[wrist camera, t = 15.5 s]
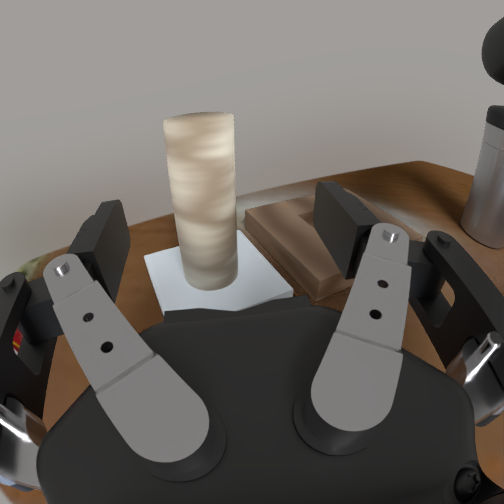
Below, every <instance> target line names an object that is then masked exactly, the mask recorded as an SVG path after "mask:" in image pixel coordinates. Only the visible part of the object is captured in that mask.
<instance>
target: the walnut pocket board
mask: <svg viewBox="0 0 504 504" xmlns="http://www.w3.org/2000/svg"><path fill="white" fill-rule="evenodd" d="M344 190H345V191H346V192H348V193H350V194H352V195H354V196H356V197H357V198H358V199H359V200H360V201H361V202H362V203H363V205H365V206H366V207H367V208H368V210H370V211H371V212H372V213H373V214H374V215H375V216H376V217H377V219H378V220H379V221H380V222H381V223H389V224H393V225H396V226H398V227H400V228H401V229H403V230H404V231H405V232H406V233H407V234H408V236H409V240H413V241H421V240H422V237H423V236H422V235H420V234H419V233H417V232H416V231H414V230H413V229H411V228H410V227H408V226H407V225H405V224H404V223H402V222H401V221H399V220H397V219H396V218H394V217H393V216H391V215H390V214H388V213H386V212H385V211H383V210H382V209H380V208H378V207H377V206H375V205H373V204H372V203H370V202H368V201H367V200H365V199H363V198H362V197H360V196H358V195H357V194H355V193H353V192H351V191H350V190H348V189H346V188H345V189H344ZM314 202H315V195H310V196H305V197H301V198H296V199H291V200H287V201H282V202H277V203H273V204H268V205H264V206H260V207H255V208H251V209H247V210H245V228H246V229H247V230H248V231H249V233H250V234H251V235H252V236H253V237H254V238H255V239H256V240H257V241H258V242H259V243H260V244H261V245H262V246H263V247H264V248H265V249H266V250H267V251H268V252H269V253H270V255H271V256H272V257H273V258H274V259H275V260H276V261H277V262H278V263H279V264H280V265H281V266H282V267H283V268H284V269H285V270H286V271H287V272H288V273H289V275H290V276H291V277H292V278H293V279H294V280H295V281H296V282H297V283H298V284H299V285H300V286H301V287H302V288H303V289H304V290H305V291H306V293H307V294H308V295H309V296H310V297H311V298H312V299H313V300H314V301H315V302H317V301H319V300H322V299H324V298H326V297H328V296H331V295H333V294H335V293H337V292H340V291H342V290H344V289H346V288H348V287H350V286H352V285H353V283H354V280H355V279H349V280H345V279H344V277H343V275H342V274H341V272H340V270H339V268H338V267H337V265H336V263H335V262H334V260H333V258H332V256H331V255H330V253H329V251H328V250H327V248H326V246H325V245H324V243H323V241H322V240H321V238H320V236H319V235H318V233H317V232H316V230H315V229H314V228H315V227H314V223H313V211H314Z"/></svg>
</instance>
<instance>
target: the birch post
mask: <svg viewBox="0 0 504 504" xmlns="http://www.w3.org/2000/svg"><path fill="white" fill-rule="evenodd" d="M163 125H164V135H165V145H166V154H167V163H168V171H169V180H170V187H171V194H172V202H173V209H174V216H175V222H176V229H177V235H178V241H179V247H180V253H181V259H182V264H183V270H184V275H185V279H186V281H187V283H188V284H189V285H191V286H192V287H194V288H196V289H199V290H204V291H213V290H219V289H222V288H225V287H227V286H229V285H230V284H232V283H233V282H234V281H235V279H236V278H237V276H238V253H237V223H236V191H235V155H234V153H235V150H234V115H233V114H230V113H224V112H200V113H191V114H185V115H179V116H175V117H171V118H168V119H166V120H164V121H163Z"/></svg>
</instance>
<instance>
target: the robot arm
mask: <svg viewBox="0 0 504 504" xmlns="http://www.w3.org/2000/svg"><path fill="white" fill-rule="evenodd" d="M482 61H483V65H484V68H485V70H486V71H487V73H488V74H489V76H490V77H492V78H493V79H494V80H495V81H497V82H499V83H501V84H503V85H504V17H503V18H502V19H501V20H499V21H498V22H497V23H495V24H494V25H493V26H492V27H491V28H490V29H489V31H488V33H487V34H486V37H485V39H484V42H483V46H482ZM486 121H487V122H486V124H485V130H484V136H483V142H482V146H481V151H480V155H479V159H478V164H477V168H476V171H475V175H474V179H473V183H472V186H471V190H470V193H469V196H468V200H467V202H466V206H465V209H464V212H463V215H462V218H461V221H460V224H461V226H462V228H463V229H464V230H465V232H466V233H468V234H469V235H470V236H471V237H472V238H474V239H475V240H477V241H478V242H480V243H482V244H484V245H486V246H488V247H491V248H496V249H501V248H503V247H504V106H496V105H494V106H490V107H489V108H488V112H487V117H486ZM313 223H314V227H315V230H316V232H317V233H318V235H319V236H320V238H321V240H322V241H323V243H324V245H325V246H326V248H327V250H328V251H329V253H330V255H331V256H332V258H333V260H334V262H335V263H336V265H337V267H338V268H339V270H340V272H341V274H342V275H343V277H344V279H345V280H349V279H355V280H354V283H353V286H352V289H351V291H350V294H349V297H348V300H347V302H346V305H345V308H344V310H343V313H342V312H340V311H338V310H335V309H332V308H328V307H324V306H318V305H311V303H310V300H309V298H308V295H303V296H296V297H288V298H281V299H273V300H270V301H267V302H264V303H262V304H259V305H256V306H253V307H250V308H246V309H243V310H240V311H228V310H217V309H206V308H193V309H182V310H171V311H164V322H162V323H159V324H156V325H154V326H151V327H149V328H148V329H146V330H144V331H142V332H141V333H139V334H138V333H137V332H136V331H135V330H134V329H133V327H132V326H131V325H130V324H129V322H128V321H127V320H126V319H125V317H124V316H123V315H122V313H121V312H120V311H119V309H118V308H117V307H116V306H115V301H116V297H117V293H118V289H119V285H120V281H121V277H122V273H123V270H124V266H125V262H126V259H127V255H128V252H129V248H130V234H129V230H128V226H127V222H126V218H125V215H124V210H123V207H122V203H121V201H120V200H112V201H106V202H102V203H101V204H100V206H99V208H98V210H97V211H96V213H95V215H92V216H91V217H89V218H88V219H87V220H86V221H85V222H84V223H83V225H82V226H81V228H80V230H79V232H78V234H77V235H76V238H75V239H74V240H73V242H72V244H71V246H70V248H69V250H68V252H67V254H64V255H61V256H59V257H57V258H55V259H53V260H52V261H51V262H50V263H49V264H48V265H47V266H46V267H45V269H44V272H43V276H44V277H41V278H39V279H36V280H33V281H31V282H27V280H26V278H25V276H24V274H23V273H21V272H15V273H12V274H10V275H8V276H6V277H5V278H4V279H2V280H1V281H0V483H1V484H4V485H7V486H11V487H13V488H16V489H18V490H21V491H24V492H29V491H32V490H33V489H37V490H40V491H43V494H44V496H45V498H46V501H47V503H48V504H504V489H502V488H501V487H499V486H498V485H496V484H495V483H494V482H492V481H491V480H490V479H489V478H488V477H487V476H486V475H485V474H484V473H483V471H482V469H481V467H480V465H479V463H478V459H477V452H476V444H475V425H476V426H479V427H482V426H486V425H487V424H489V423H490V422H492V421H493V420H494V419H496V418H497V417H498V416H499V415H501V414H502V413H503V412H504V297H503V296H502V294H501V293H500V292H499V290H498V289H497V288H496V286H495V285H494V284H493V283H492V281H491V280H490V279H489V278H488V276H487V275H486V274H485V273H484V271H483V270H482V269H481V268H480V267H479V266H478V264H477V263H476V262H475V261H474V260H473V259H472V257H471V256H470V255H469V254H468V253H467V252H466V251H465V249H464V248H463V247H462V246H461V245H460V244H459V243H458V242H457V241H456V240H455V239H454V238H453V237H452V236H450V235H448V234H446V233H444V232H441V231H430V232H429V233H428V234H427V237H426V240H425V242H421V241H413V240H409V236H408V234H407V233H406V232H405V231H404V230H403V229H401V228H400V227H398V226H396V225H393V224H389V223H381V222H380V221H379V220H378V219H377V217H376V216H375V215H374V214H373V213H372V212H371V211H370V210H368V208H367V207H366V206H365V205H363V203H362V202H361V201H360V200H359V199H358V198H357V197H356V196H354V195H352V194H350V193H348V192H346V191H345V190H344V189H343V188H342V187H341V186H340V185H339V184H338V183H337V182H335V181H332V182H318V183H317V186H316V193H315V202H314V211H313ZM445 280H446V281H447V282H448V283H449V285H450V286H451V287H452V289H453V291H454V294H455V301H454V304H453V306H452V307H451V306H450V304H449V303H448V301H447V300H446V298H445V297H444V296H443V294H442V293H441V289H442V287H443V285H444V283H445ZM408 301H409V303H410V305H411V306H412V308H413V310H414V311H415V313H416V315H417V317H418V318H419V320H420V322H421V324H422V325H423V327H424V329H425V331H426V333H427V334H428V336H429V338H430V340H431V342H432V344H433V345H434V347H435V349H436V351H437V353H438V355H439V357H440V359H441V361H442V363H443V365H444V367H445V369H446V374H445V373H444V372H442V371H440V370H439V369H437V368H435V367H434V366H432V365H430V364H428V363H427V362H425V361H423V360H422V359H420V358H418V357H417V356H415V355H413V354H412V353H410V352H408V351H407V350H405V349H403V348H402V347H401V345H402V339H403V333H404V327H405V321H406V314H407V306H408ZM16 329H18V330H19V331H20V333H21V334H22V335H23V338H22V341H21V344H20V347H19V351H18V354H16V353H15V351H14V348H13V338H14V335H15V332H16ZM63 334H65V336H66V338H67V340H68V342H69V344H70V346H71V348H72V350H73V352H74V354H75V356H76V358H77V360H78V362H79V364H80V366H81V368H82V370H83V371H84V373H85V375H86V377H87V379H88V380H89V382H90V385H89V386H88V387H87V389H86V390H85V391H84V392H83V393H82V394H81V395H80V396H79V397H78V398H77V400H76V401H75V402H74V403H73V404H72V405H71V406H70V407H69V409H68V410H67V411H66V412H65V413H64V414H63V415H62V416H61V418H60V419H59V420H58V421H57V422H56V423H55V424H54V426H53V427H52V428H51V429H50V430H49V431H48V432H47V430H46V427H45V425H44V423H43V421H42V418H43V410H44V402H45V396H46V389H47V383H48V378H49V373H50V368H51V363H52V358H53V353H54V349H55V345H56V341H57V336H60V335H63Z"/></svg>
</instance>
